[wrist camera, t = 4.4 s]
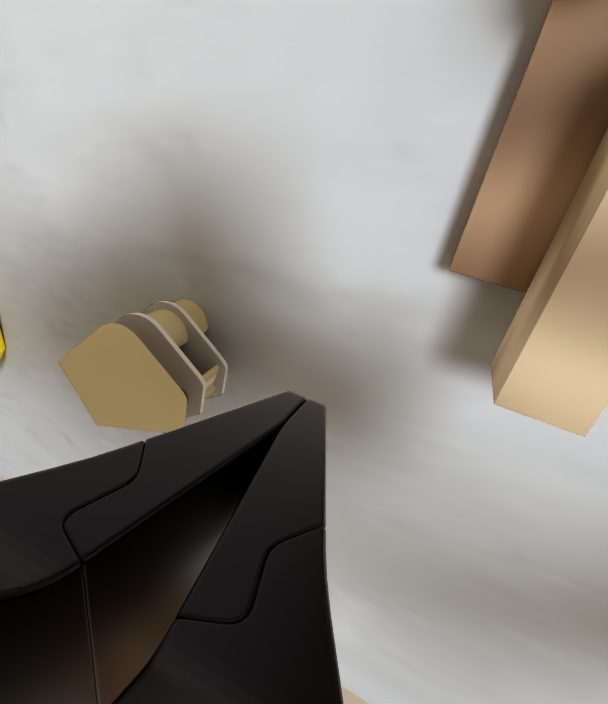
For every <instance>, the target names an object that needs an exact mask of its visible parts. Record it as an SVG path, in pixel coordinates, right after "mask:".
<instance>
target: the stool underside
mask: <svg viewBox="0 0 608 704" xmlns="http://www.w3.org/2000/svg"><path fill="white" fill-rule="evenodd" d="M607 129H608V0H552V3H551V5H550V8H549V11H548V13H547V16H546V18H545V21H544V23H543V26H542V29H541V31H540V34H539V36H538V39H537V42H536V44H535V47H534V49H533V52H532V55H531V57H530V60H529V62H528V65H527V67H526V70H525V73H524V75H523V78H522V80H521V83H520V86H519V88H518V91H517V93H516V96H515V99H514V101H513V104H512V106H511V109H510V111H509V114H508V117H507V119H506V122H505V124H504V127H503V130H502V132H501V135H500V137H499V140H498V143H497V145H496V148H495V150H494V153H493V155H492V158H491V161H490V163H489V166H488V168H487V171H486V174H485V176H484V179H483V181H482V184H481V187H480V189H479V192H478V194H477V197H476V200H475V202H474V205H473V207H472V210H471V212H470V215H469V218H468V220H467V223H466V225H465V228H464V231H463V233H462V236H461V238H460V241H459V244H458V246H457V249H456V251H455V254H454V256H453V259H452V262H451V265H450V269H449V270H450V271H453V272H457V273H460V274H463V275H467V276H470V277H474V278H477V279H480V280H484V281H487V282H491V283H494V284H497V285H501V286H504V287H508V288H511V289H514V290H518V291H521V292H525V293H526V292H527V290H528V288H529V286H530V284H531V282H532V280H533V278H534V276H535V274H536V272H537V270H538V268H539V266H540V264H541V262H542V260H543V258H544V256H545V254H546V252H547V250H548V248H549V246H550V244H551V242H552V240H553V238H554V236H555V234H556V232H557V230H558V228H559V226H560V224H561V222H562V220H563V218H564V216H565V214H566V212H567V210H568V208H569V206H570V204H571V202H572V200H573V198H574V196H575V194H576V192H577V190H578V188H579V186H580V184H581V182H582V180H583V178H584V176H585V174H586V172H587V170H588V168H589V166H590V164H591V162H592V160H593V158H594V156H595V154H596V152H597V150H598V148H599V146H600V144H601V142H602V140H603V138H604V136H605V133H606V131H607Z"/></svg>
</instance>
